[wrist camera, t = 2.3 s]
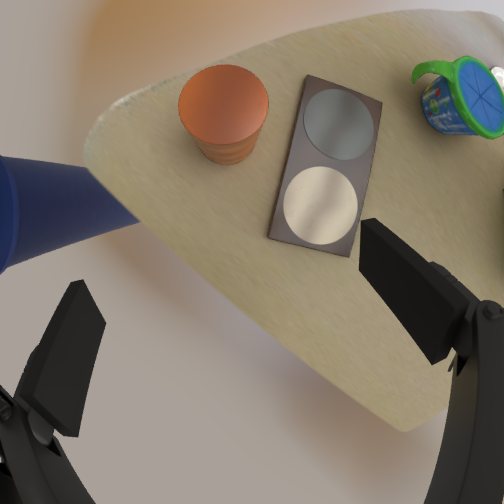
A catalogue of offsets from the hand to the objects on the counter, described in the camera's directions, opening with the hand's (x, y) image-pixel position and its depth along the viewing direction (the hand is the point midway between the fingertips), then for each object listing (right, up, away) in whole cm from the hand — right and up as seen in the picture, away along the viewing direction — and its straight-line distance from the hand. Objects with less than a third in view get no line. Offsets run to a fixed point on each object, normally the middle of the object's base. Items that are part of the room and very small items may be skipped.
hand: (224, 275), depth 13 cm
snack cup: (+28, +21, +19) cm, 40 cm away
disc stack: (-2, +14, +18) cm, 23 cm away
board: (+10, +11, +19) cm, 25 cm away
